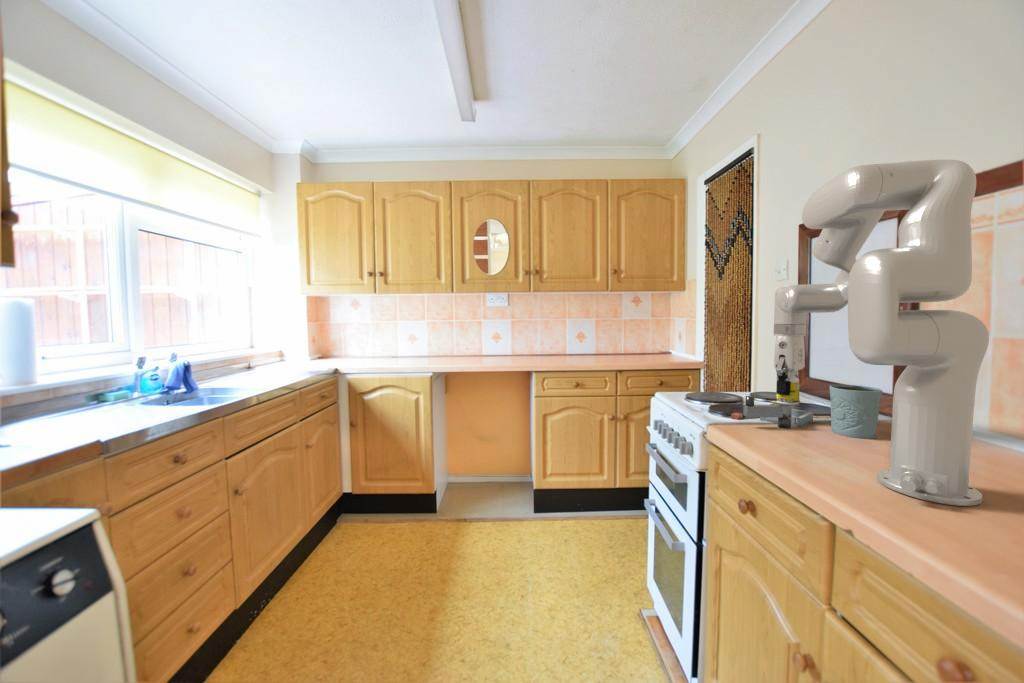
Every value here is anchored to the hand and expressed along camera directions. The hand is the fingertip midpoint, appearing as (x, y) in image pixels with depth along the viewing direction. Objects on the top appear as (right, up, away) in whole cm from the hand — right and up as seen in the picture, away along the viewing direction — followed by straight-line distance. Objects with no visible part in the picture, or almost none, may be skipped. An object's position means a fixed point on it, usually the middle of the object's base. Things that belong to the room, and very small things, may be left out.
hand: (787, 392), depth 112 cm
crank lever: (-10, -6, -6) cm, 13 cm away
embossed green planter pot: (+8, -9, -12) cm, 17 cm away
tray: (0, -8, +1) cm, 8 cm away
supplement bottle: (0, -3, 0) cm, 3 cm away
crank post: (-9, -9, -1) cm, 12 cm away
